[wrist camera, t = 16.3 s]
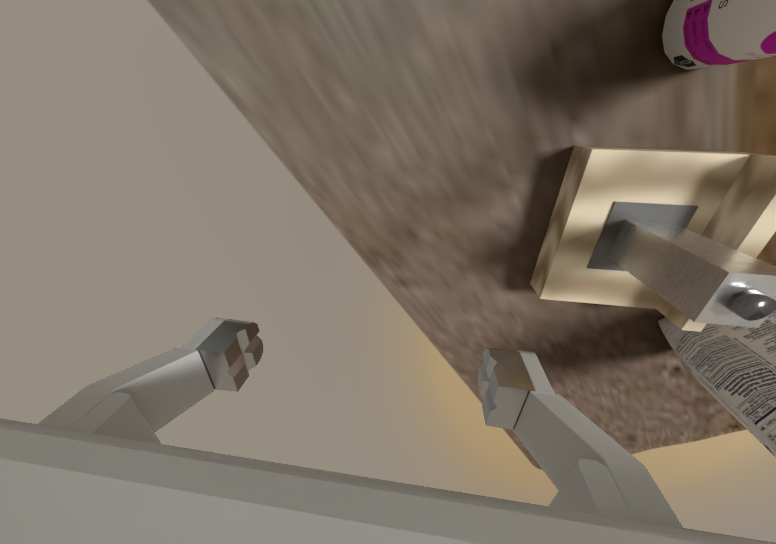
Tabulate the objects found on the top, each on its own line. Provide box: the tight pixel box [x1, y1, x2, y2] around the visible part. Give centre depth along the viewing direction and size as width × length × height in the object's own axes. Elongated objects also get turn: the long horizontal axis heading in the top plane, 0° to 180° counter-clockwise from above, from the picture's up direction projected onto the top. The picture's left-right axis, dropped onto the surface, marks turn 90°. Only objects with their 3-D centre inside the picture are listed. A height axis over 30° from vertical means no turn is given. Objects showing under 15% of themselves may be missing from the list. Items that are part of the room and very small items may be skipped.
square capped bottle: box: [608, 219, 776, 328], centre depth 25 cm, size 4×4×13 cm
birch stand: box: [530, 146, 776, 332], centre depth 31 cm, size 18×16×8 cm
